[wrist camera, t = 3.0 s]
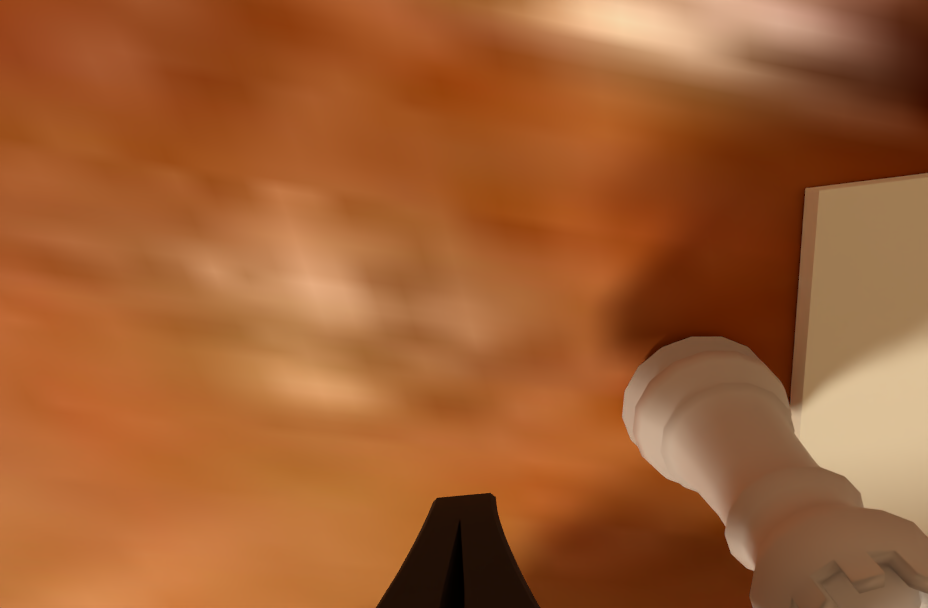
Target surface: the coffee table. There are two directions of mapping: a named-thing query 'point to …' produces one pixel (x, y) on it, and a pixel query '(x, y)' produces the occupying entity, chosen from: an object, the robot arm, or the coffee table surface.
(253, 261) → the coffee table surface
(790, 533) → the rook chess piece
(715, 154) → the coffee table surface
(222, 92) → the coffee table surface
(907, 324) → the paper sticky note
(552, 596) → the coffee table surface
